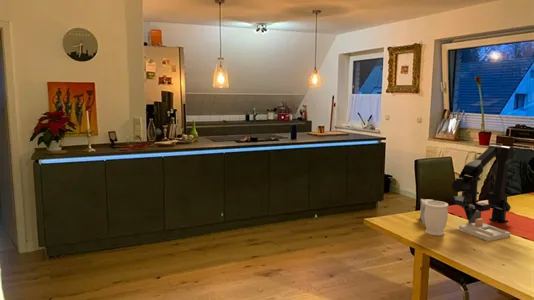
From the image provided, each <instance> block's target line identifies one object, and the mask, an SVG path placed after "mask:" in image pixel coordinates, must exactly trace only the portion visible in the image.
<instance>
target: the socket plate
mask: <svg viewBox="0 0 534 300" xmlns="http://www.w3.org/2000/svg"><path fill="white" fill-rule="evenodd" d="M470 224H471V223H465V224H462V225H458V230H459V231H462V232H463V233H466V234H468V235H471V236H473V237H474V236H475V237H477V238H480V239H481V240H484V241H487V242H491V241H497V240H500V239H505V238H509V237H511V231H510V232H509V231H507V230H505V229H501V228H499V227H496V226H493V225H490V224H489V223H488V224H487V223H484V222H483V224H484V225H487V226H489V228H485V229H481V228H478V227H475V226H472V225H470Z"/></svg>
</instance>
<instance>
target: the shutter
mask: <svg viewBox="0 0 534 300" xmlns="http://www.w3.org/2000/svg"><path fill="white" fill-rule="evenodd" d="M483 223H484V219H483V218H482V217H481V218H480V219H475V223H469V224H470V225H472V226H475V227H478V228H481V229H485V228H489V226H487V225H484V224H483Z"/></svg>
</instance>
